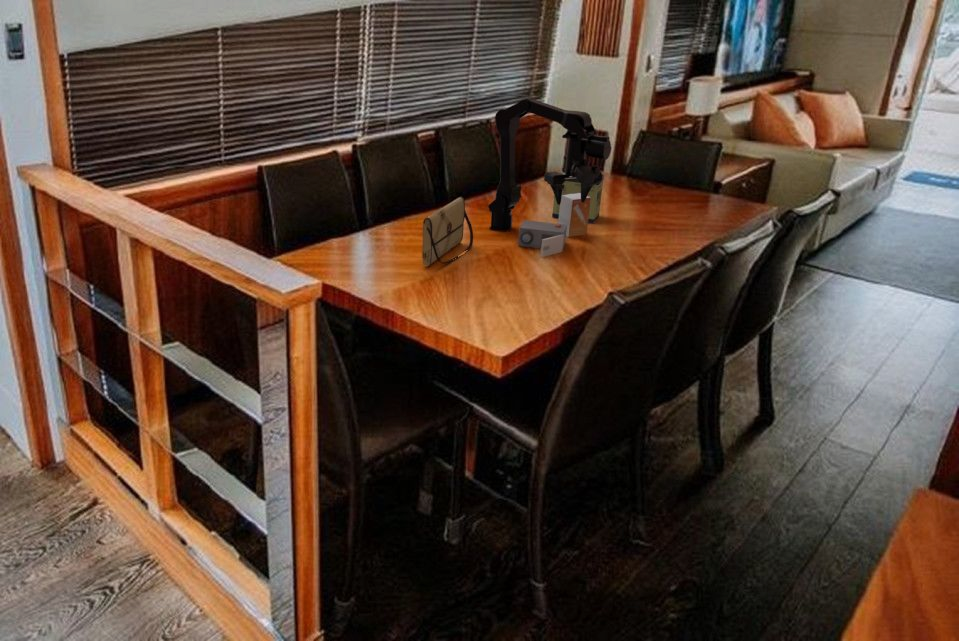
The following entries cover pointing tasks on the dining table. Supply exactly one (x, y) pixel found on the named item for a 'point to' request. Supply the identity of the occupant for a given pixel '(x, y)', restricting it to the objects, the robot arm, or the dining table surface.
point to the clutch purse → (444, 231)
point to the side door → (552, 245)
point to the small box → (574, 214)
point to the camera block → (539, 232)
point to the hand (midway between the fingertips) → (570, 203)
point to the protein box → (575, 187)
